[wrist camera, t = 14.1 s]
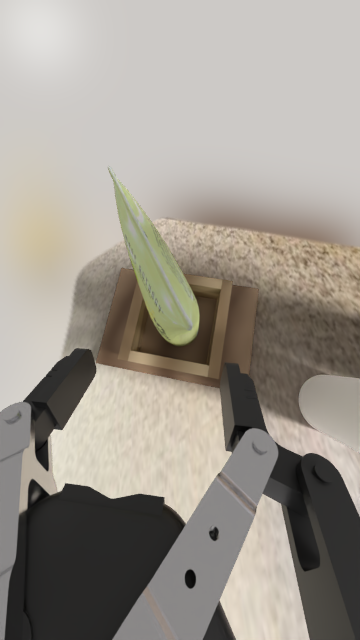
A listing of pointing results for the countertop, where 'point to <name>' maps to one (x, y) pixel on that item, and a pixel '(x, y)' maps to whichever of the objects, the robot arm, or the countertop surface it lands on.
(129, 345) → the wooden box on board
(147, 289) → the tube
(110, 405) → the countertop surface
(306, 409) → the cylindrical container
